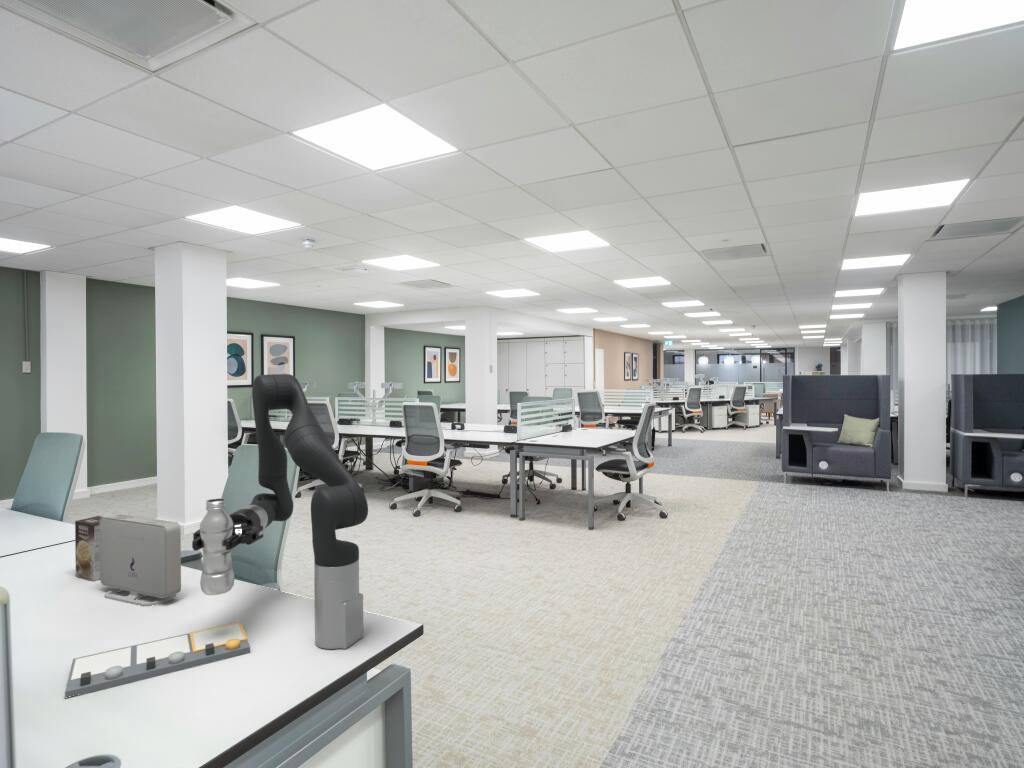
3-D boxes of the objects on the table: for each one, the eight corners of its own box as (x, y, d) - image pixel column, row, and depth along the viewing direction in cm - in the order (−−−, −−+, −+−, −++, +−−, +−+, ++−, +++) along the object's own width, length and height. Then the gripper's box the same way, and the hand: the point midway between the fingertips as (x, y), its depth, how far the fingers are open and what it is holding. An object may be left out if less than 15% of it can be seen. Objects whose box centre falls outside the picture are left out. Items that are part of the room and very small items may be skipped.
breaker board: (240, 627, 128) (240, 615, 128) (250, 652, 116) (250, 640, 116) (73, 664, 111) (72, 651, 111) (65, 698, 99) (64, 684, 99)
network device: (91, 594, 147) (90, 518, 146) (124, 583, 155) (124, 511, 154) (158, 610, 137) (157, 528, 137) (191, 597, 145) (190, 519, 145)
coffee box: (74, 576, 160) (73, 520, 159) (98, 569, 166) (98, 515, 165) (93, 581, 156) (92, 524, 156) (117, 574, 162) (117, 518, 161)
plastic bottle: (222, 584, 125) (220, 495, 124) (241, 590, 121) (239, 498, 121) (193, 595, 119) (191, 501, 119) (212, 601, 116) (210, 505, 115)
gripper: (214, 508, 134) (175, 528, 117) (276, 507, 134) (246, 527, 118) (215, 539, 134) (176, 564, 117) (276, 539, 135) (246, 563, 118)
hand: (211, 545), depth 117 cm, fingers closed on plastic bottle, 6 cm apart
